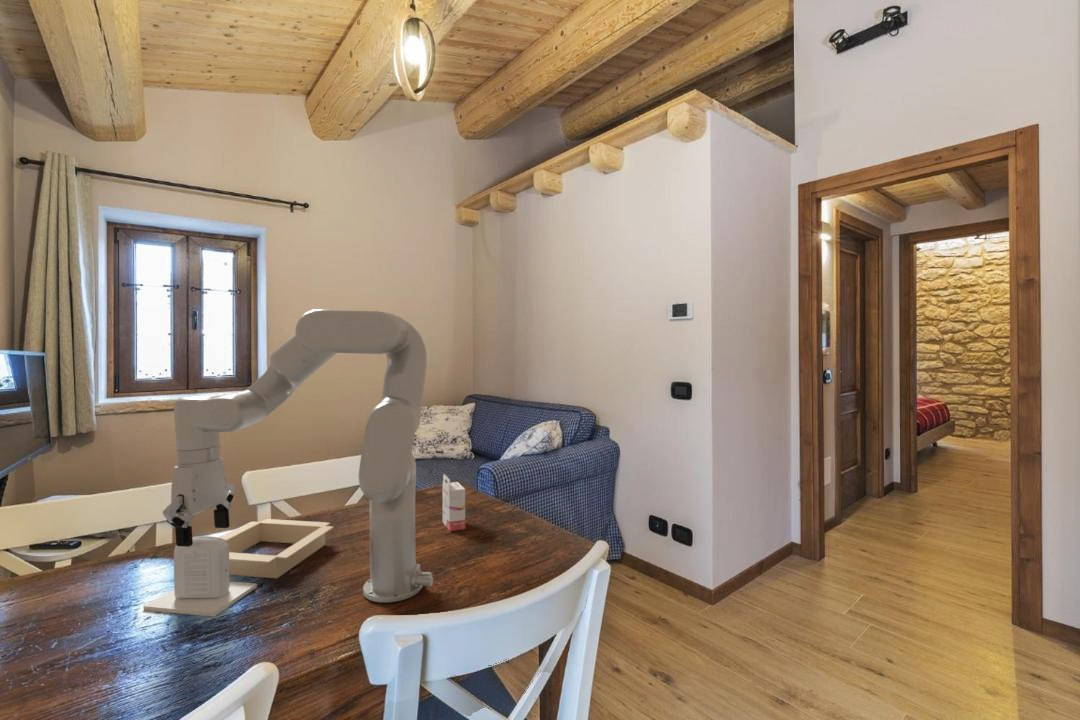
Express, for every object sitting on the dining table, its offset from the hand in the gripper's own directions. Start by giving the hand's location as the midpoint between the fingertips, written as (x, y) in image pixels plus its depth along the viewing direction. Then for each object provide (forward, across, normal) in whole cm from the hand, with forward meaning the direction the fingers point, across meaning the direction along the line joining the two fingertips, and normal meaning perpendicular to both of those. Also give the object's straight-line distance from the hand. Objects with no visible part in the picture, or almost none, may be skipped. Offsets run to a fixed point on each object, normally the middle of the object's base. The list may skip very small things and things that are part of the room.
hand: (204, 536), depth 106 cm
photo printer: (+13, 0, -1) cm, 13 cm away
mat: (+13, 0, -1) cm, 13 cm away
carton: (+13, -20, -1) cm, 24 cm away
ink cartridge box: (+15, -48, +38) cm, 63 cm away
